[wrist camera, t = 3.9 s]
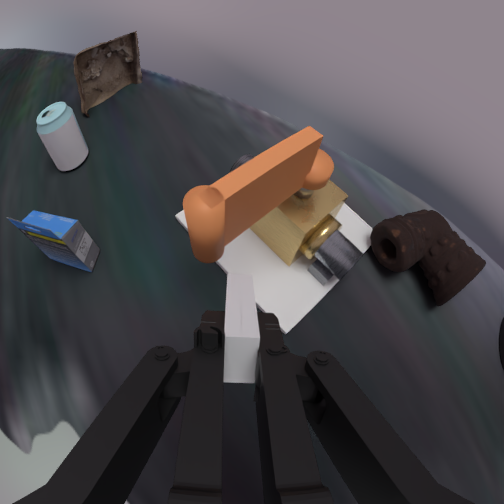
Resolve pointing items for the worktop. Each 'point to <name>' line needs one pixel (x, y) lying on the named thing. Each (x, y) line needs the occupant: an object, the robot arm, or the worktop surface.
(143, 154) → the worktop surface
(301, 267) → the mount board
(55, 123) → the can
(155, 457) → the worktop surface
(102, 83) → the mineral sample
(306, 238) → the valve
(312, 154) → the lever
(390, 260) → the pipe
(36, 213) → the label tape cartridge
